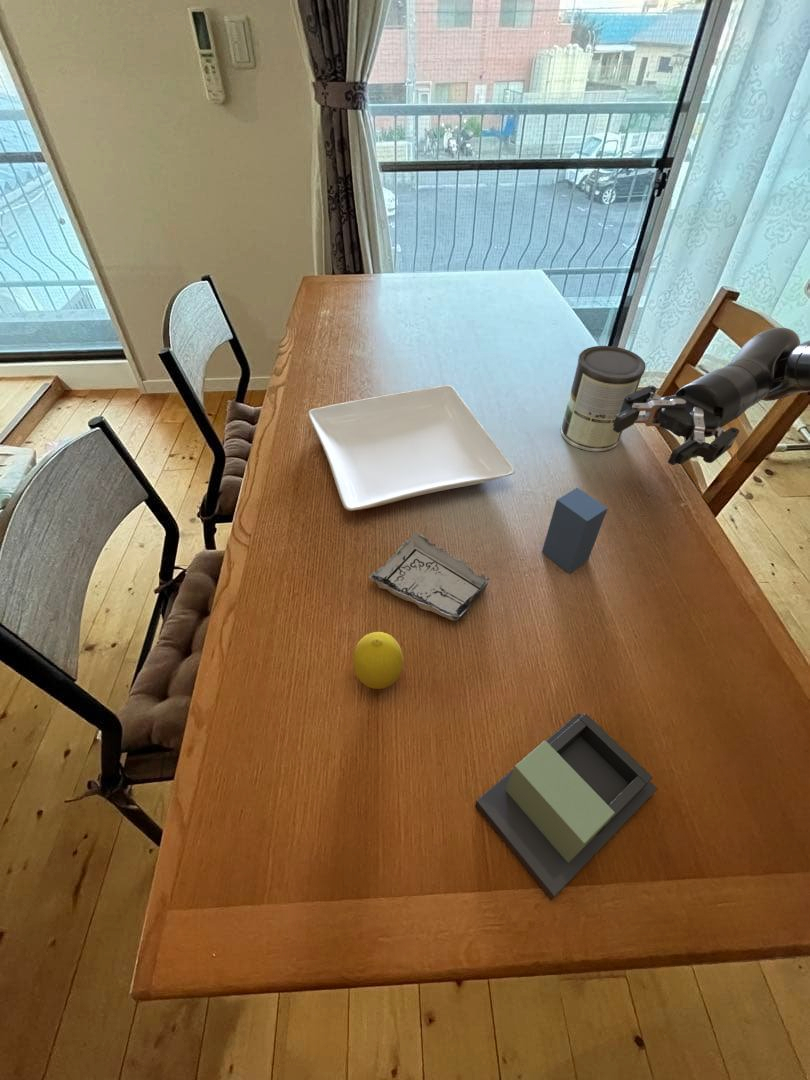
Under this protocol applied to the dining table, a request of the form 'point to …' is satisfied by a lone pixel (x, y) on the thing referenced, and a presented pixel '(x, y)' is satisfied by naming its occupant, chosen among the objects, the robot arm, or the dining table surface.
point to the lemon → (377, 660)
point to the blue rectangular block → (573, 529)
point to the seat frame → (566, 801)
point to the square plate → (405, 446)
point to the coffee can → (600, 396)
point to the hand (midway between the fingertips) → (643, 441)
